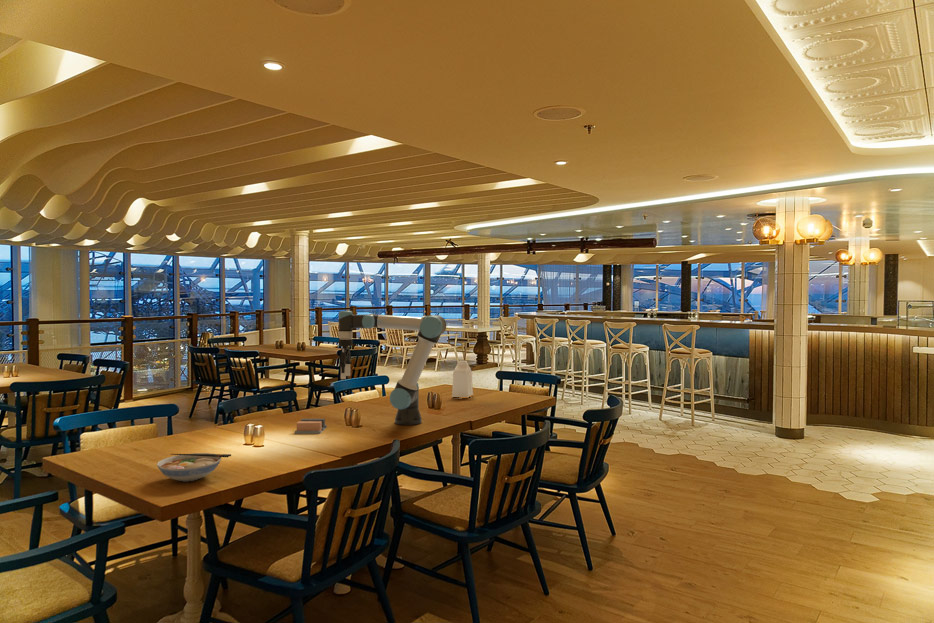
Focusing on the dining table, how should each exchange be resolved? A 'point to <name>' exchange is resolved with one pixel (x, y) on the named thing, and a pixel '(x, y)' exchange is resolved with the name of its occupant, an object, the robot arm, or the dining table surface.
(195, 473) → the ramen bowl
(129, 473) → the dining table surface
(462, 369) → the milk
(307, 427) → the terracotta bar
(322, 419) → the charcoal bar
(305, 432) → the slot board
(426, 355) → the robot arm
